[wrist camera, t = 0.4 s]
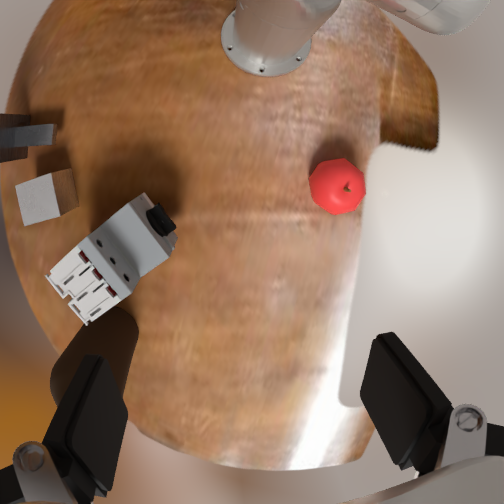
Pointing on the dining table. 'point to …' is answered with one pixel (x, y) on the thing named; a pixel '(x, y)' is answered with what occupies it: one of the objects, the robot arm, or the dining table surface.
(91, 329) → the olive oil
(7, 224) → the dining table surface
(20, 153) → the grey l-shaped bracket part
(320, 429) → the dining table surface
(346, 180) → the apple
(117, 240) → the circuit breaker
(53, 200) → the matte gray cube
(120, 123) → the dining table surface
